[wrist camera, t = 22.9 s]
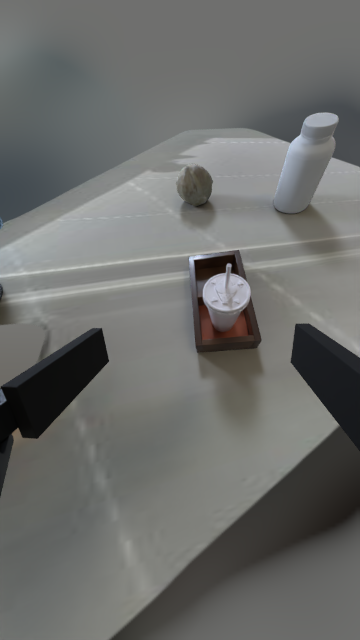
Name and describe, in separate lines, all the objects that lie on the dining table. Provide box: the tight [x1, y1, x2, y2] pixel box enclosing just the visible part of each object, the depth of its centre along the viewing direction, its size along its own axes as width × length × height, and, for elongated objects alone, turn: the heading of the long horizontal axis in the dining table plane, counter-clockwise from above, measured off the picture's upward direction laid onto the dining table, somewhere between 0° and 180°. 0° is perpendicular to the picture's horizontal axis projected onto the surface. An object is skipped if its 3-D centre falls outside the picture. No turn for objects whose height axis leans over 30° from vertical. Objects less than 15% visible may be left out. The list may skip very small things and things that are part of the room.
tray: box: [189, 250, 261, 353], centre depth 35 cm, size 10×19×4 cm, turn 2°
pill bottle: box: [274, 113, 339, 213], centre depth 40 cm, size 8×8×15 cm
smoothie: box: [203, 263, 251, 332], centre depth 28 cm, size 6×6×14 cm
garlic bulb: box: [176, 164, 213, 206], centre depth 48 cm, size 9×8×10 cm
